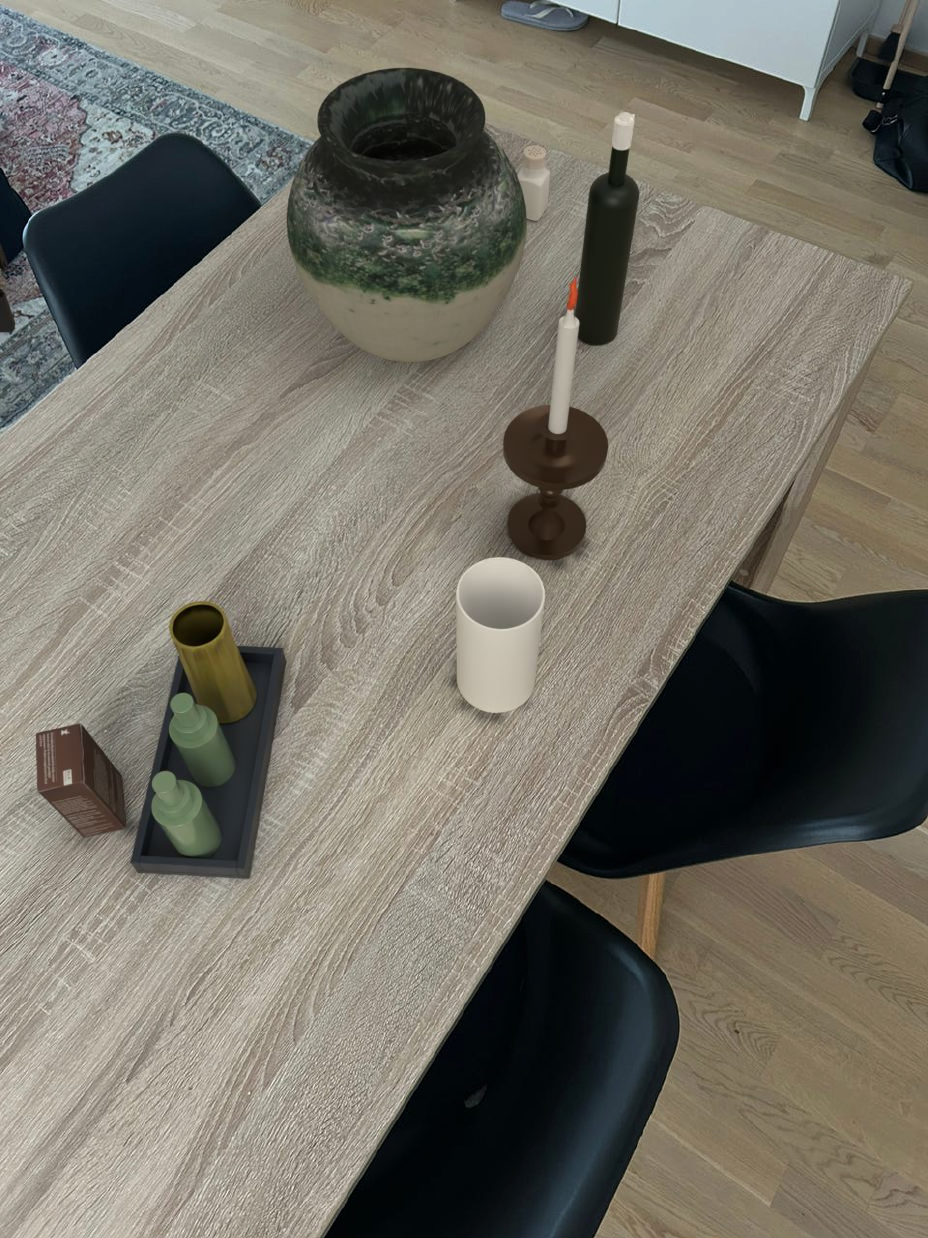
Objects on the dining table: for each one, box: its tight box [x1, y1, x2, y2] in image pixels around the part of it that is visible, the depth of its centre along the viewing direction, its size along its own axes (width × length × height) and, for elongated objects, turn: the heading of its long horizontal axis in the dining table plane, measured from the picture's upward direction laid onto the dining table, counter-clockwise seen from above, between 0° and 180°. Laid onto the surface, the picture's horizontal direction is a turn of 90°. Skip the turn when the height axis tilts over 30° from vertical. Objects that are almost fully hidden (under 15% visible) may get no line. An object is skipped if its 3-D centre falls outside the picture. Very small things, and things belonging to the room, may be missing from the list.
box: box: [35, 722, 126, 839], centre depth 96 cm, size 6×4×12 cm
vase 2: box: [286, 67, 528, 363], centre depth 124 cm, size 28×28×30 cm
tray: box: [129, 645, 287, 880], centre depth 103 cm, size 11×24×3 cm, turn 177°
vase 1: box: [168, 600, 257, 723], centre depth 101 cm, size 6×6×14 cm
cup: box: [455, 556, 546, 714], centre depth 102 cm, size 8×8×16 cm
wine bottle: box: [574, 110, 640, 346], centre depth 124 cm, size 6×6×30 cm
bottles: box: [151, 693, 235, 859], centre depth 95 cm, size 4×12×14 cm, turn 177°
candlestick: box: [502, 276, 609, 561], centre depth 105 cm, size 11×11×35 cm
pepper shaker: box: [517, 144, 551, 222], centre depth 146 cm, size 4×4×10 cm
